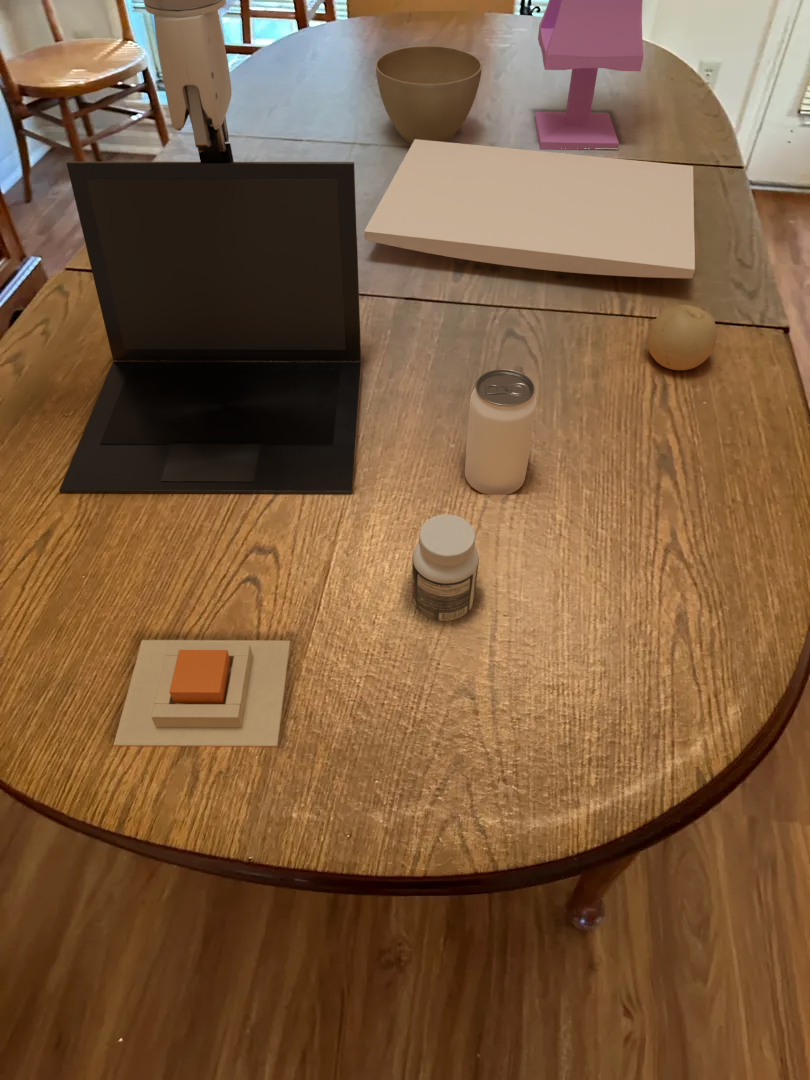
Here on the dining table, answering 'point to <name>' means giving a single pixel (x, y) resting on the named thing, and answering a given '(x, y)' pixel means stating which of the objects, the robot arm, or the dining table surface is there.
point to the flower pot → (428, 90)
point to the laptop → (221, 429)
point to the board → (540, 210)
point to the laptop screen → (223, 259)
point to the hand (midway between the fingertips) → (221, 183)
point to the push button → (200, 676)
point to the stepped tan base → (230, 724)
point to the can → (499, 432)
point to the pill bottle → (445, 568)
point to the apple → (682, 337)
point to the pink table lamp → (586, 65)
